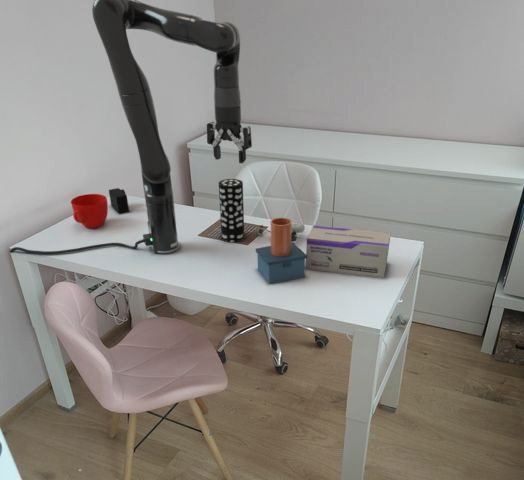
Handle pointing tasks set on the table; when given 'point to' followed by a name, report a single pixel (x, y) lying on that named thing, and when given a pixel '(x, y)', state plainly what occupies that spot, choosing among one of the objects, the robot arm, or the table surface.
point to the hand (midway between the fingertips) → (229, 160)
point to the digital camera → (119, 200)
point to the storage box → (281, 264)
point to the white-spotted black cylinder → (231, 210)
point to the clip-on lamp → (295, 229)
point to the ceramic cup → (90, 210)
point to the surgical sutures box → (347, 251)
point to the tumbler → (281, 236)
